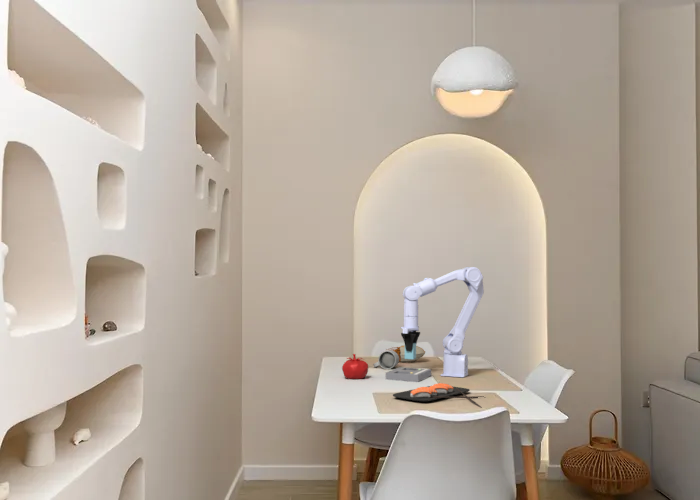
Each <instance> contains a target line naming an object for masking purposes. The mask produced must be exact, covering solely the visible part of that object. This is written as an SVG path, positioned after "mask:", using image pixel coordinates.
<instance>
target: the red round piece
mask: <svg viewBox="0 0 700 500" xmlns="http://www.w3.org/2000/svg"><path fill="white" fill-rule="evenodd" d="M356 357H357V356H356V353H352V357H346V361H345V362H344V363H343V365H342V367H341V369H342V373H343V376H344V377H345V379H349V380H362V379H364V378H365V377H366V376H367V374H368V372H369V365H368V363H367V362H366V360H365V359H364V358H362V357H358V358H356ZM347 359H348V360H347Z"/></svg>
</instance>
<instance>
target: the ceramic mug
mask: <svg viewBox="0 0 700 500" xmlns="http://www.w3.org/2000/svg"><path fill="white" fill-rule="evenodd" d="M399 362H400V361H399V356H398V354H397V353H396V352H394V351H393V350H391V351H389V350H385V351H382V352H381V353H380V354H379V356H378V361H376V362H375V363H373V365H372V366H373V367H374V368H377V367H381V368H382V369H384V370H390V369H393V368H396V367H397V365H398V364H399Z"/></svg>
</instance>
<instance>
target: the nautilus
mask: <svg viewBox="0 0 700 500" xmlns="http://www.w3.org/2000/svg"><path fill="white" fill-rule="evenodd" d="M386 351H394V352H396V353H397V354H398V356H399V362H401V363H406V362H408V363H412V362H416V361H417V360H419V359H421V358H423V357H424V355H425V354H426V351H425V350H424V348H423V347H420V346H418V345H416V359H405V344H403V345H401V346H396V347H394V346H393V347H392V346H391V347H390V348H388V349H387V348H386Z"/></svg>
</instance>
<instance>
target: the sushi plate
mask: <svg viewBox="0 0 700 500" xmlns="http://www.w3.org/2000/svg"><path fill="white" fill-rule="evenodd" d="M467 392H468V393H469V392H470V388H467V387H466V388H465V387H458V386H452V385H451V384H449V383H443V382H441V383H439V382H438V383H434V384H432V385H430V386H429V385H427V386H420V387H417V388H415V389H410V390H404V391H400V392H395V393H393V394H392V396H393V397H395V398H398V399H403V400H405V399H406V401H411V400H412V401H413V402H418V401H419V403H420V402H421V403H424V402H425V403H427V402H431V401H435V400H440V399H468V400H469V401H470V402H471V403H472V404H473V405H475V406H477V407H479V408H480V409H483V407H482V406H481V405H479V404H478V403H477V402H476V401H475V400H473V399H479V398H478V397H484V396H485V395H484V396H483V395H482V396H480V395H477V396H470V395H469V396H468V395H466V394H465V393H467ZM456 395H463V396H456ZM484 398H485V397H484Z"/></svg>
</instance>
